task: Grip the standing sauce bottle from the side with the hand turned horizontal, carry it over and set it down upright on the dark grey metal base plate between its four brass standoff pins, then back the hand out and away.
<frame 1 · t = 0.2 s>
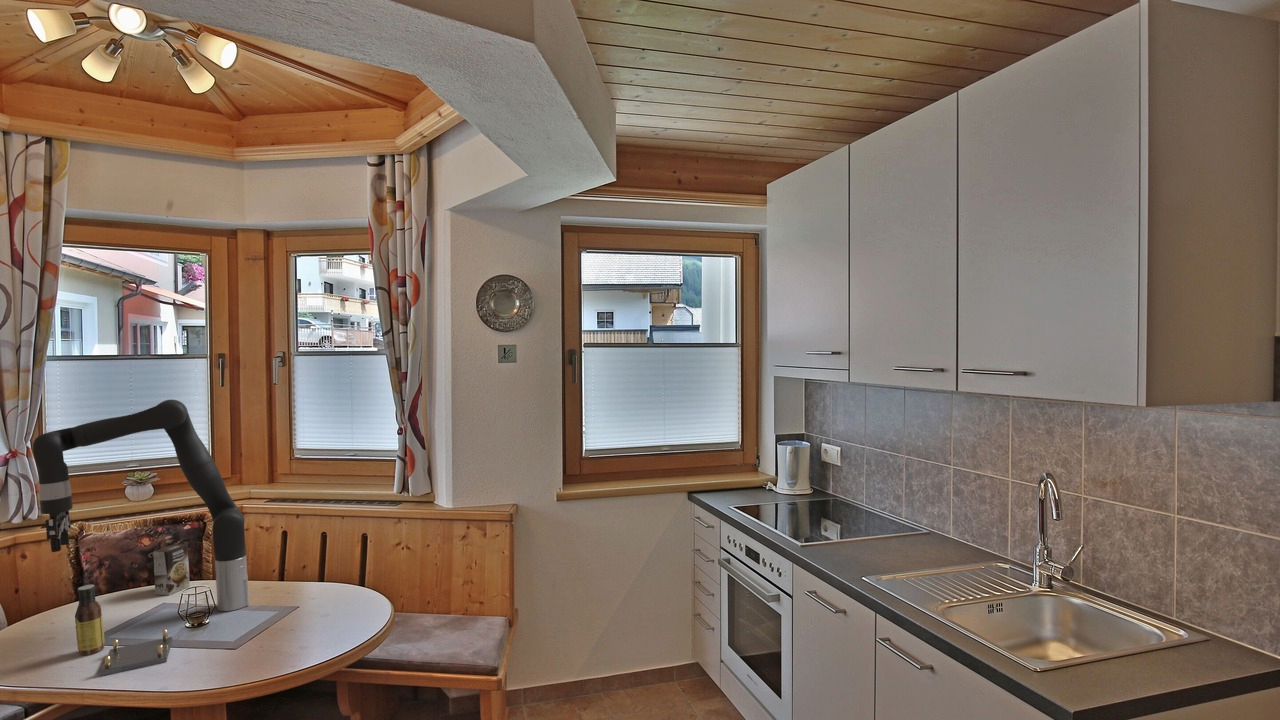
hand: (60, 547, 210), 29 cm above the table, tool pointing down, fingers open, 8 cm apart
sauce bottle: (91, 652, 202), on the table
standoff plate: (138, 657, 197), on the table
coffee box: (173, 591, 250), on the table
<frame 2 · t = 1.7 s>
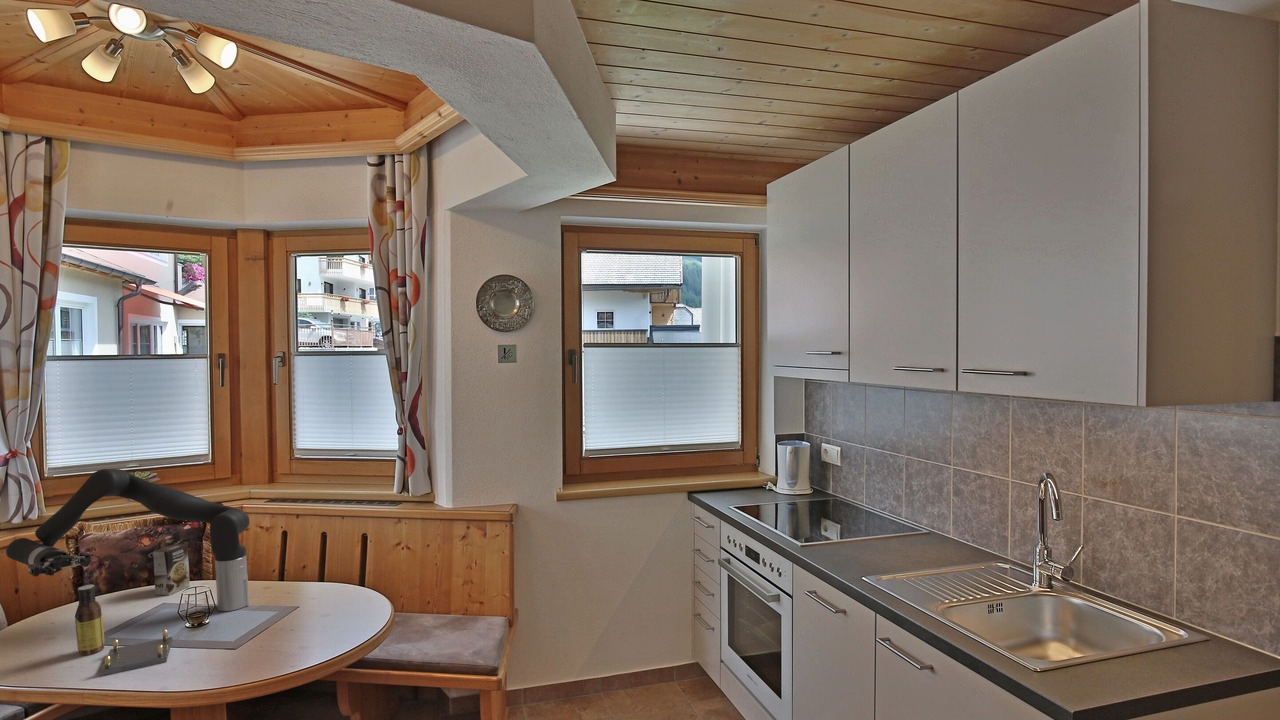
hand: (70, 567, 206), 24 cm above the table, tool horizontal, fingers open, 8 cm apart
nothing on the table moved.
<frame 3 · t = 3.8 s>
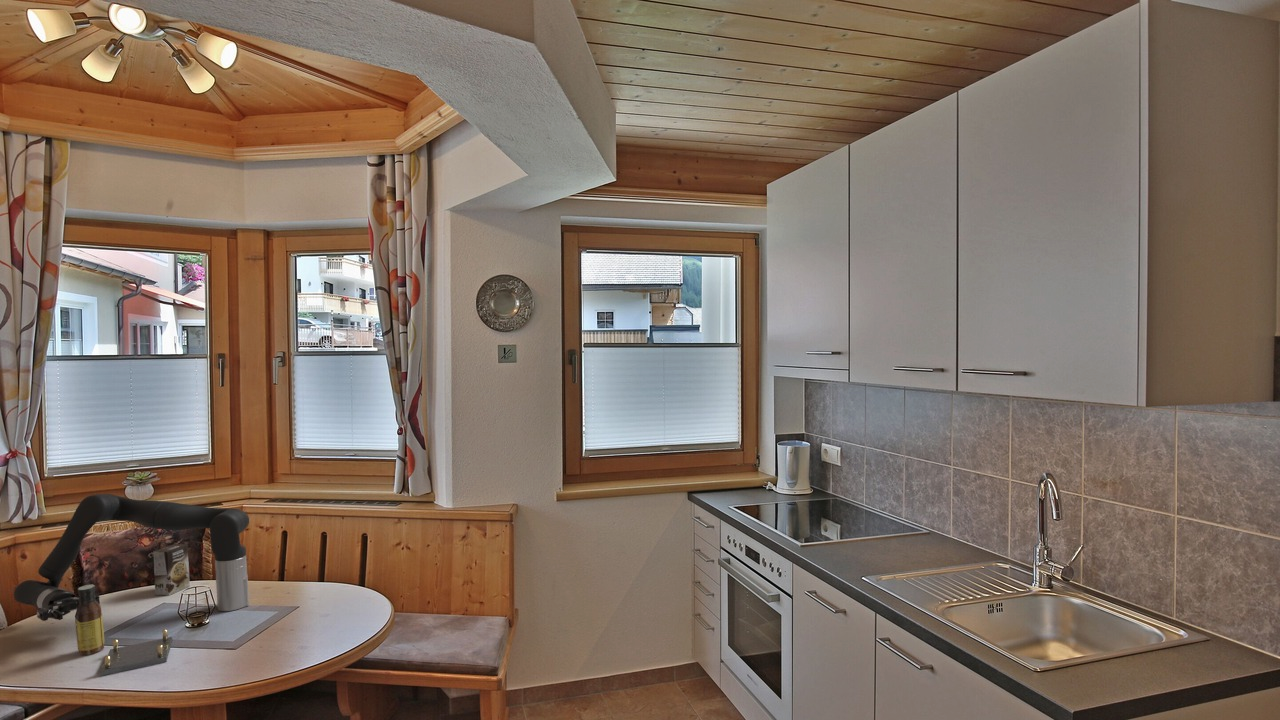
hand: (78, 611, 205), 11 cm above the table, tool horizontal, fingers open, 8 cm apart
nothing on the table moved.
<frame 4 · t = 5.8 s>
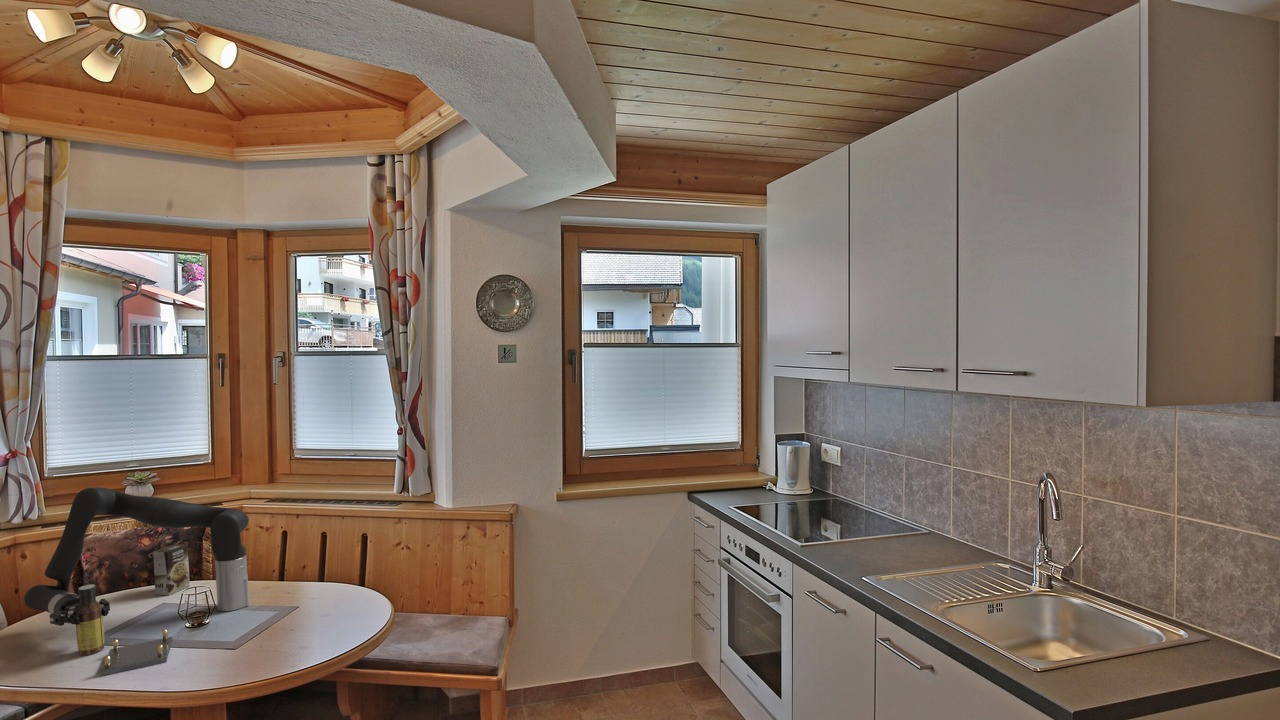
hand: (92, 616, 200), 11 cm above the table, tool horizontal, fingers closed on sauce bottle, 6 cm apart
sauce bottle: (91, 652, 202), on the table, touching gripper
everything else where it was.
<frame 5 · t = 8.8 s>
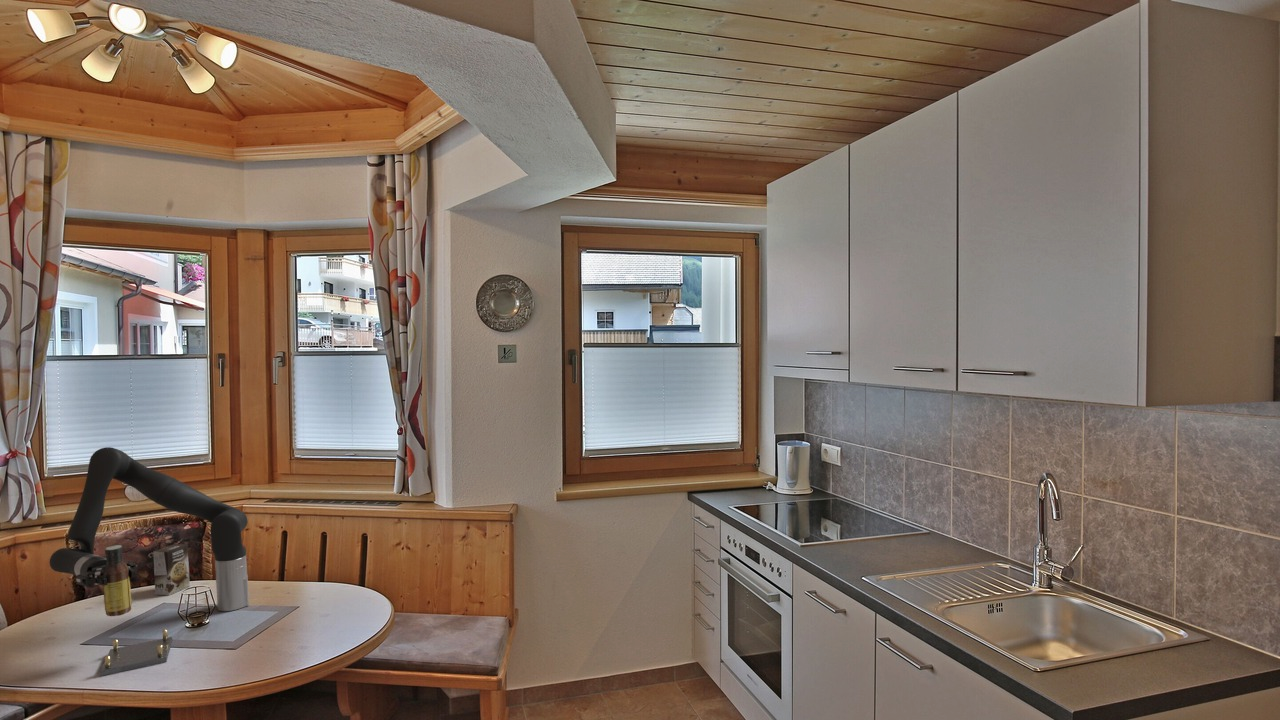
hand: (119, 577, 197), 24 cm above the table, tool horizontal, fingers closed on sauce bottle, 6 cm apart
sauce bottle: (118, 613, 198), point 12 cm above the table, touching gripper
everything else where it was.
when the fingers open (14 cm above the table, at t = 11.7 s): sauce bottle drops 1 cm, resting on standoff plate.
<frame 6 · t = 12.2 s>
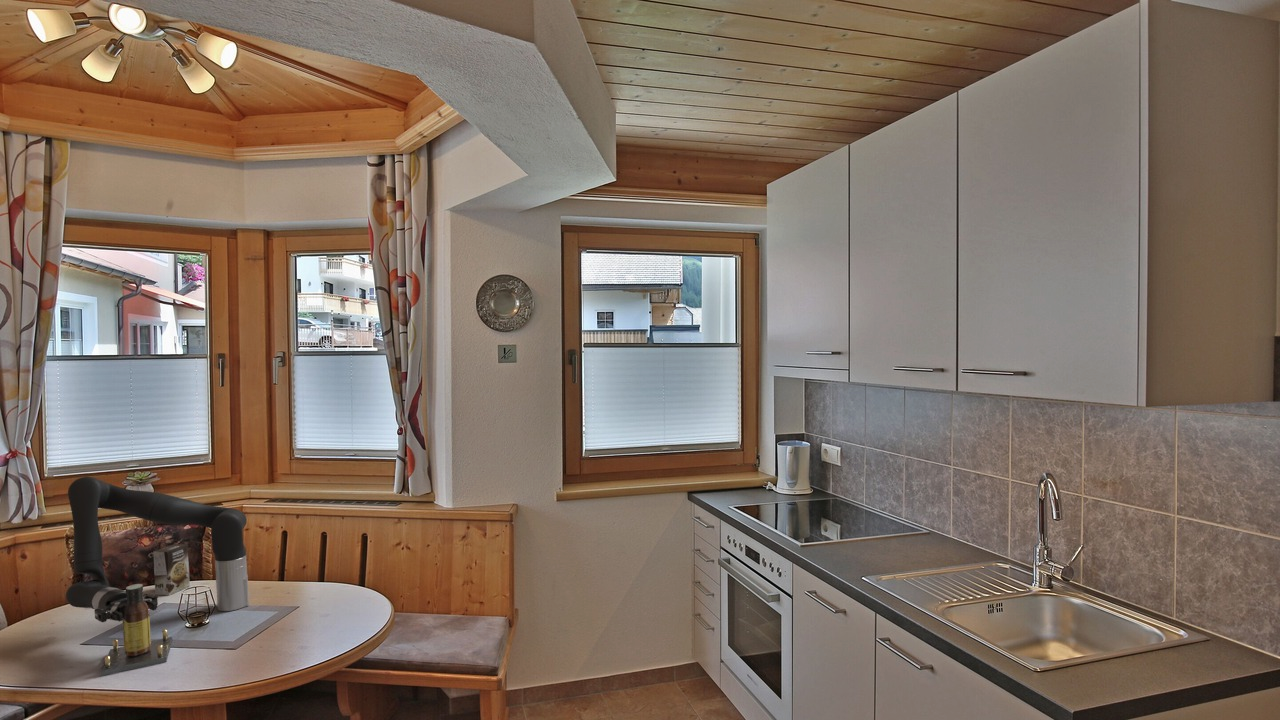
hand: (138, 612, 195), 14 cm above the table, tool horizontal, fingers open, 8 cm apart
sauce bottle: (137, 653, 197), point 1 cm above the table, touching standoff plate
everything else where it was.
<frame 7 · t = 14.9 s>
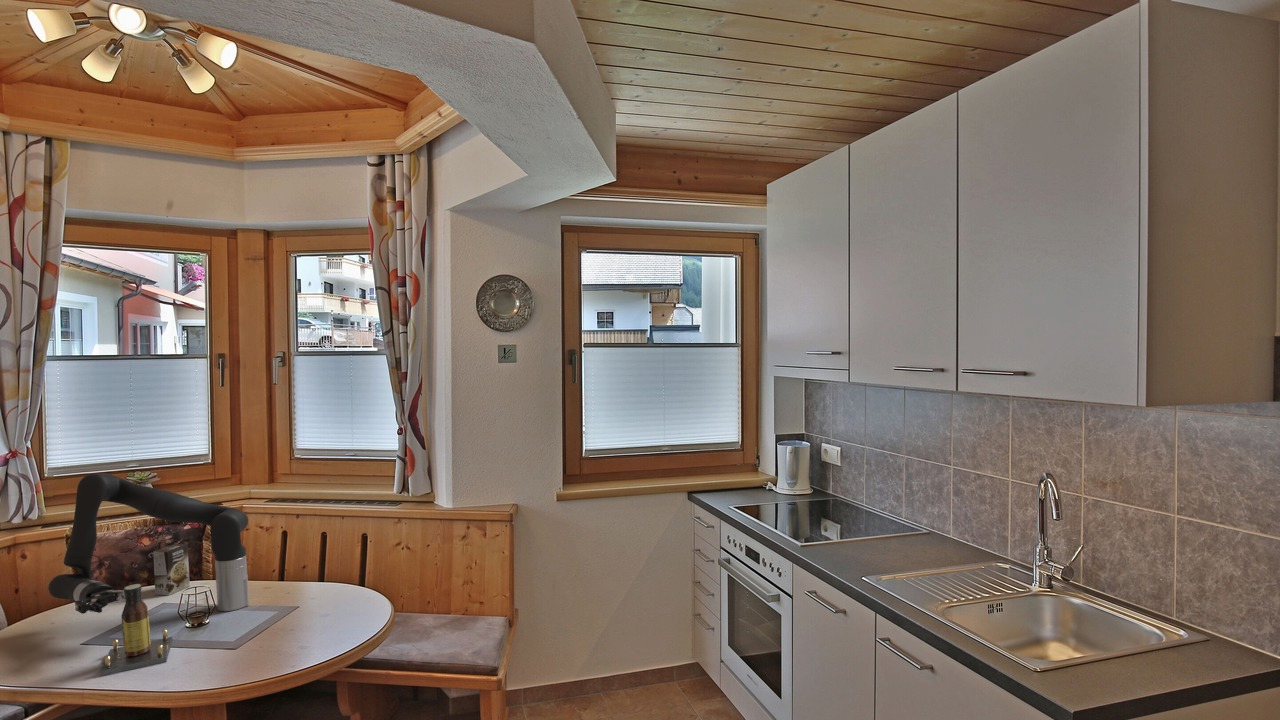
hand: (117, 603, 202), 14 cm above the table, tool horizontal, fingers open, 8 cm apart
nothing on the table moved.
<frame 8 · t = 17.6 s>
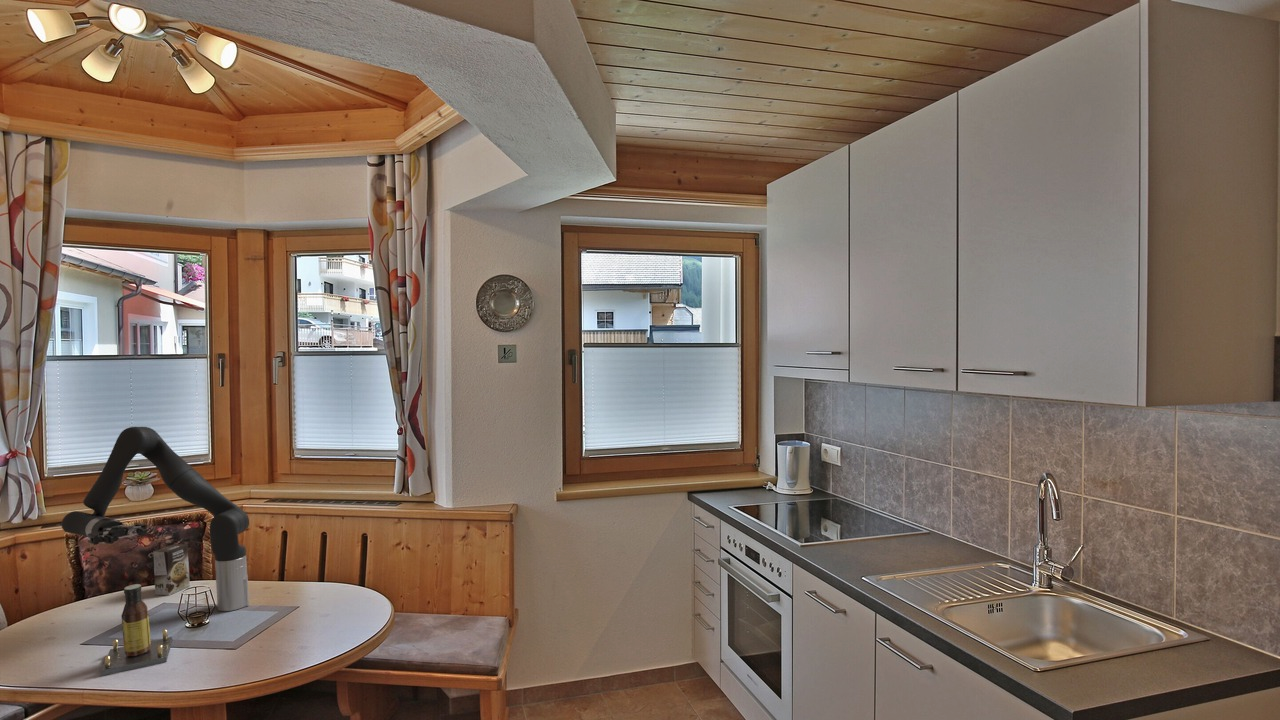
hand: (128, 536, 209), 32 cm above the table, tool horizontal, fingers open, 8 cm apart
nothing on the table moved.
at the end: sauce bottle 0.1 cm off-centre on the standoff plate, point 1.3 cm above the standoff plate's base; sauce bottle tilted 0°; the gripper is holding nothing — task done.
